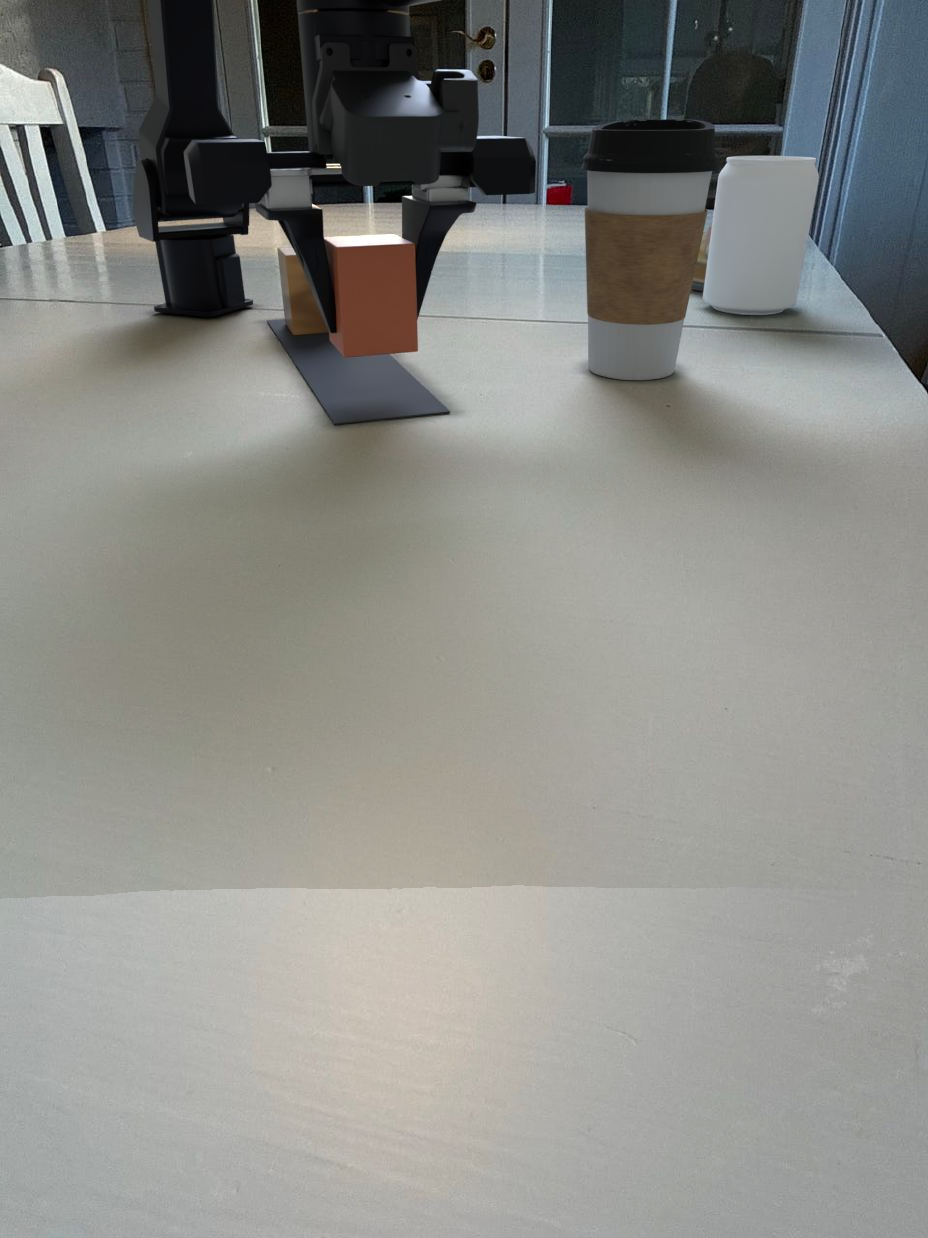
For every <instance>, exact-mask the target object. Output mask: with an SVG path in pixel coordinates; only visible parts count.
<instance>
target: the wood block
mask: <svg viewBox="0 0 928 1238" xmlns="http://www.w3.org/2000/svg"><path fill="white" fill-rule="evenodd" d="M276 250H277V259H278V270H279V277H280V285H281V286H280V288H281V297H282V307H283V316H284V319H285V324H286V326H287V327H288V328H289V330H290V331H291V332H292V334H293V335H306V334H320V333H329V331H328V329H327V327H326V324H325V322H324V319H323V317H322V315H321V312H320V310H319V307H318V305H317V302H316V300H315V297H314V295H313V293H312V290H311V288H310V285H309V283H308V280H307V278H306V276H305V273H304V271H303V268H302V266H301V264H300V261H299V259H298V257H297V255H296V253H295V251H294V249H293V248H292V246H284V247H282V246H281V247H277V248H276Z"/></svg>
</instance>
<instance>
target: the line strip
mask: <svg viewBox="0 0 928 1238" xmlns="http://www.w3.org/2000/svg"><path fill="white" fill-rule="evenodd" d="M266 323H268V325H269V326H270V328H271V330H272V331H273V333H274V334H275V336H276V337H277V339H278V340H279V342H280V343H281V345H282V347H283V349H284V350H285V351H286V352H287V353H286V354H288V356H289V357H290V359H291V360H292V362H293V363H294V365H295V367H296V368H297V369H298V371H299V372H300V374H301V375H302V377H303V379H304V380H305V382H306V383H307V385H308V386H309V388H310V389H311V391H312V393H313V394H314V395H315V397H316V399H317V400H318V401H319V403H320V405H321V406H322V408H323V410H324V411H325V412H326V414H327V415H328V418H329V419H330V420H331V422H332V423H333V425H334V426H339V425H347V424H357V423H365V422H366V423H367V422H376V421H386V420H394V419H404V418H413V417H414V418H415V417H425V416H433V415H442V414H443V415H444V414H451V410H450V409H449V408H448V407H447V406H445V404H444V403H443V402H441V401H440V400H439V399H438V398H437V397H436V396H435V395H434V394H433V393H432V392H431V391H429V390H428V389H427V388H426V386H424V385H423V384H422V383H421V382H420V381H419V380H418V379H417V378H416V377H415V376H413V374H411V373H410V372H409V371H408V370H407V369H406V368H405V367H404V366H403V365H402V364H401V363H399V361H397V359H396V358H394V357H393V356H392V354H383V355H371V356H359V357H347V358H345V357H344V356H343V355H342V354H341V353H340V352H339V351H338V349H337V348H336V347H335V346H334V345H333V344H332V343H331V341H330V338H329V333H320V334H306V335H293V334H292V332H291V331H290V330H289V328H288V327H287V326H286V324H285V318H282V319H280V318H279V319H267V320H266Z"/></svg>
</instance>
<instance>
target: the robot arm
mask: <svg viewBox="0 0 928 1238" xmlns="http://www.w3.org/2000/svg"><path fill="white" fill-rule="evenodd" d="M440 1H441V0H296V11H297V21H298V23H297V24H298V35H299V36H298V37H299V47H300V60H301V70H302V71H301V73H302V82H303V83H302V84H303V94H304V95H303V96H304V106H305V107H304V108H305V120H306V132H307V143H308V151H268V148H267V144H266V141H265V140H260V139H256V138H244V139H243V138H242V139H240V138H239V137H237V136H235V134H234V132H233V130H232V128H231V127H230V125H229V123H228V122H227V120H226V118H225V116H224V114H223V113H222V111H221V110H220V105H219V92H218V89H219V88H218V68H217V51H216V49H217V48H216V27H215V7H214V6H215V5H214V4H215V3H214V0H147V9H148V18H149V28H150V30H149V31H150V42H151V52H152V53H151V54H152V62H153V63H152V64H153V72H154V73H153V75H154V85H155V97H154V98H153V100H152V103H151V105H150V106H149V108H148V111H147V112H146V115H145V117H144V118H143V121H142V123H141V124H140V127H139V129H138V140H139V141H138V142H139V143H138V144H139V159H137V160H136V162H135V169H134V186H133V200H132V201H133V202H132V213H133V218H134V223H135V226H136V230H137V234H138V237H140V238H142V239H144V240H147V241H149V242H152V243H154V244H155V250H156V256H157V261H158V267H159V273H160V278H161V279H160V280H161V284H162V290H163V297H164V303H161V304H157V305H154V306H153V310H154V312H155V313H164V314H173V315H183V316H193V317H201V318H213V317H216V316H219V315H224V314H226V313H231V312H233V311H238V310H240V309H243V308H246V307H251V306H253V305H254V299H252V298H246V295H245V288H244V280H243V271H242V270H243V269H242V262H241V257H240V254H239V253H237V251H236V243H235V242H236V241H235V235H240V236H247V235H249V226H250V204H254V206H255V212H256V213H257V214H259V215H260V216H262V218H264V219H265V220H267V221H275V222H276V221H277V222H278V224H279V226H280V228H281V229H282V231H283V234H284V235H285V237H286V239H287V240H288V242H289V244H290V247H292V248H293V249H294V251H295V253H296V255H297V257H298V259H299V261H300V264H301V266H302V268H303V271H304V273H305V276H306V278H307V280H308V283H309V285H310V288H311V290H312V293H313V295H314V297H315V300H316V302H317V305H318V307H319V310H320V312H321V315H322V317H323V319H324V322H325V324H326V327H327V329H328V331H329V332H330V333H331V334H332V333H337V325H336V304H335V298H334V293H333V287H332V281H331V276H330V270H329V264H328V259H327V253H326V248H325V242H324V237H325V234H324V233H325V231H324V210H323V208H321V207H319V206H317V205H315V204H313V198H312V195H313V194H314V193H313V189H315V188H316V189H317V188H345V187H346V188H347V187H379V186H383V187H384V186H411V195H402V196H401V237H402V238H404V239H406V240H408V241H410V242H412V243H414V244H415V263H416V297H417V321H418V320H419V317H420V313H421V309H422V306H423V303H424V301H425V300H424V299H425V296H426V292H427V291H428V290H427V289H428V286H429V282H430V279H431V276H432V273H433V270H434V267H435V263H436V261H437V257H438V255H439V253H440V250H441V248H442V246H443V244H444V241H445V238H446V237H447V235H448V233H449V231H450V230H451V229H452V227H453V226H454V225H455V223H456V221H457V220H458V219H459V218H460V216H461V215H463V214H472V213H474V212H475V211H476V208H477V205H478V202H476V201H472V200H469V190H471V188H477V190H479V192H480V193H481V194H482V195H484V196H508V195H510V196H511V195H514V196H515V195H531V194H535V193H536V173H537V159H536V156H535V153H534V149H533V147H532V146H531V144H530V143H529V141H528V140H527V138H526V137H521V136H520V137H519V136H507V135H506V136H505V135H478V133H479V132H478V131H479V121H480V111H479V108H480V107H479V80H478V77H476V76H475V74H474V73H473V71H471V70H470V69H436V70H434V71H433V73H432V77H431V79H430V80H421V76H420V73H419V69H418V56H417V55H418V54H417V48H416V41H415V40H416V39H415V38H416V37H415V36H412V35H411V27H410V26H411V21H410V20H411V19H410V18H411V17H410V7H412V6H417V5H423V4H429V3H433V2H440ZM334 156H335V158H336V160H337V162H338V163H327V160H334V159H335V158H334ZM211 219H212V220H213V219H222V221H219V222H205V223H189V224H175V225H161V226H160V225H159V222H164V223H165V222H180V221H196V220H211Z"/></svg>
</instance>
